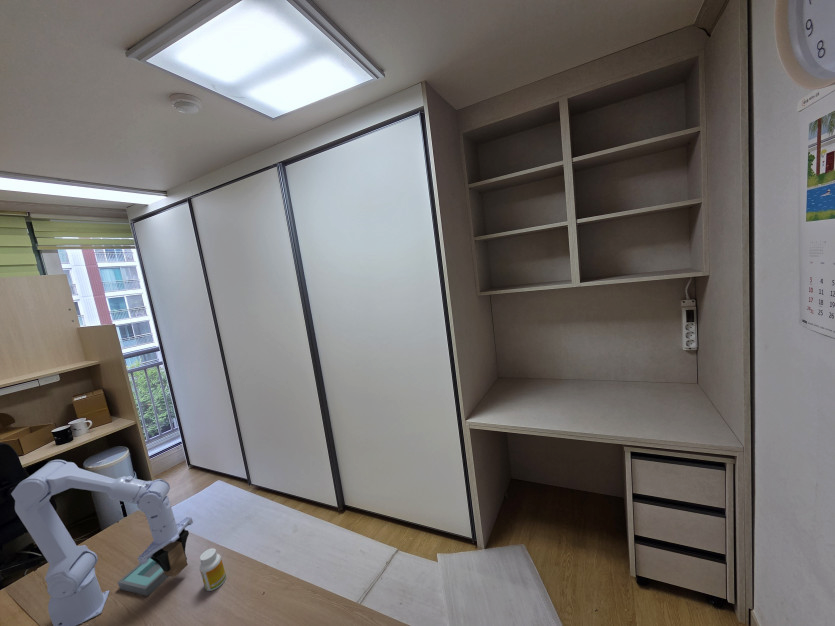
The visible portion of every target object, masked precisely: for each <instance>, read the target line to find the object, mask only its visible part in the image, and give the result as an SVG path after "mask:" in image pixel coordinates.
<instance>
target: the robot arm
mask: <svg viewBox="0 0 835 626" xmlns="http://www.w3.org/2000/svg"><path fill="white" fill-rule="evenodd" d="M170 488H171V486H170V483H168V482H167V481H166V480H163V479H162V478H158V479H154V480H142V479H138V478H134V476H132V475H128V476H125V475H123V476H121V477H117V478H113V477H110V476H106V475H103V474H101V473H100V474H99V473H96V472H93V471H89V470H86V469H83V468H81V467H78V465H77V464H76V463H75V462H72V461H66V460H63V459H54V460H50V461H48V462H47V463H46V464H44V465H43V466H42V467H41V468H39V469H38V470H36V471H35V472H34V473H32V474H31V475H29V476H28V477H27V478H25V479H23V480H22V481H20V482H19V483H18V484H17V485H16V486H15V488H14V489H13V490H12V492H11V493H10V495H11V496H12V498H13V500H14V511H15V514H17V516H18V518H19V519H20V521H21V522H22V524H23V525H24V528H26V530H27V532H28V534H29V536H30V537H31V539H32V540H33V541H34V543H35V544H36V545H37V548H38V549H39V550H40V552H41V553H42V555H43V557H44V558H45V560H46V561H47V563H48V568H47V570H46V571H47V572H46V574H45V577H44V581H45V582H46V586H47V594H48V595H49V596H50V598H49V601H48V604H47V611H48V615H49V618H50V621H51V623H52V625H53V626H79V625H81V624H82V623H84V622H86V621H89V620H90V619H92V618H95V617H97V616H99V615H100V614H102V612H103V610H104V609H105V605H106V602H107V599H108V597H109V594H110V589H109V590H106V591H104V592H103V591H102V589H101V586H100V583H99V581H98V580H99V579H98V578H97V575H96V567H95V566H96V565H97V563H98V561H99V560H98V559H99V558H98V557H99V556H98V555H97V553H96V552H94V551H92V550H90V549H89V548H88V546H87V545H85V544H83V545H77V544H76V542H75V541H74V539H73V538H72V536H71V534H70V532H69V531H68V529H67V528H66V526H65V525H64V523H63V521H62V520H61V518H60V517H59V515H58V513H57V511H56V510H55V508H54V506H53V505H52V504H51V502H50V500H51V497H52V496H54V495H55V496H56V495H57V494H60V493H62V492H64V491H67V490H69V489H78V490H85V491H86V490H87V491H90V492H91V491H93V492H98V493H99V492H100V493H106V494H107V496H108V498H109V499H110V500H115V501H119V502H123V503H128V504H134V505H136V508H138V510H139V511H141V512H143V513H144V515H145V517H146V520H147V523H148V527H149V530H150V534H151V537H152V539H153V541H151V542H150V544H149V545H147V547H146V549H145V550H144V551H143V552H142V553H141V554H140V555H139V556H138V557H137V560H138V564H145V563H147V562H148V559H149V558H151V559H152V560H154V561H155V562H157V563H158V564H159V565H160V567H161V568H162V569H163V571H167V572H168V571H169V570H170V565H169V562H168V551H164V549H162V548H163V547H164V546H166V545H167V544H169V543H171V542H175V541H178V542H181V544H182V547H183V550H184V554H186V546H187V545H186V544H187V540H188V537H189V535H190V532H189V530H186V528H187V527H188V526H192V524H193V523H194V520H193V518H192V517H191V516H186V517H185V518H183V519H182V520H181V521H179V522H177V521H176V518H175V515H174V512H173V508H172V504H171V502H170V499H169V498H170V497H169V495H168V494H169V492H170V490H171V489H170Z"/></svg>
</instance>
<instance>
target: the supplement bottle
mask: <svg viewBox="0 0 835 626" xmlns="http://www.w3.org/2000/svg"><path fill="white" fill-rule="evenodd" d="M199 561H200V565H199V571H200V575H201V579H202V582H203V583H202V584H203V585H204V589H205V590H206V591H208V592H211V591H214V590H217V589H219V588H220V587H221V586H222V585H223V584H224V583H225V581H226V580H227V579H226V578H227V573H226V570H225V567H224V564H223V560H222V556H221V555H220V554H219V553H217V549H216V548H214V547H213V548H212V547H211V548H209V549H207V550H205V551H203V553H202V554H201V555H200V557H199Z"/></svg>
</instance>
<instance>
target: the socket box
mask: <svg viewBox="0 0 835 626" xmlns="http://www.w3.org/2000/svg"><path fill="white" fill-rule="evenodd" d="M185 557H186V561H187V560H188V557H187V554H186V553H185ZM169 577H170V576H167V575H165V573H164V571H163V569H162V568H161V567H160V565H159V564H158V563H157V562H155V561H154V560H152V559H151V558H149V559H148V562H147V563H145V564H140V563H138V564H137V565H136V566H135V567H134V568H133V569H132V570H130V571H129V572H128V573H126V574H125V575H124V576H123V577H122V578H120V580H118V581H117V584H118V588H119V590H121V591H124V592H125V591H126V592H129V593H133V594H137V595H141V596H146V597H149V596H150V595H151V594H153V592H154V591H155V590H156V589H158V588H159V586H161V584H163V583H164V582H165V580H167V579H168V578H169Z"/></svg>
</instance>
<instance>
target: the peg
mask: <svg viewBox="0 0 835 626" xmlns="http://www.w3.org/2000/svg"><path fill="white" fill-rule="evenodd" d="M162 549H164V551H168V562H169V565H170V570H169V571H168V572H167V571H164V573H165V575H167V576H169V577H172V578H176V577H177V576H178V575H179V574H180V573H181V572H183V570H184V569H185V568H186V567H188V562H187V560H186V557H187V556H186V557H185V554H186V553H185V554H184V550H183V547H182V544H181V542H178V541H175V542H171V543H169V544H167V545H166V546H164V547H163V548H162Z"/></svg>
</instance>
